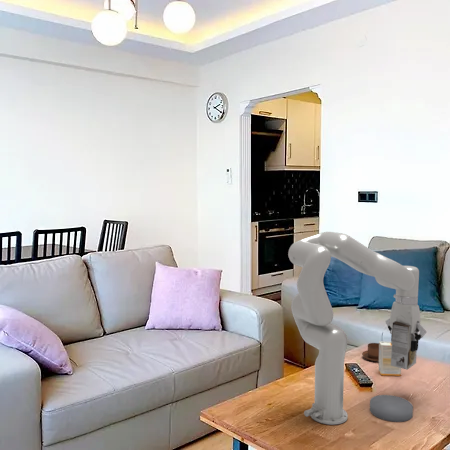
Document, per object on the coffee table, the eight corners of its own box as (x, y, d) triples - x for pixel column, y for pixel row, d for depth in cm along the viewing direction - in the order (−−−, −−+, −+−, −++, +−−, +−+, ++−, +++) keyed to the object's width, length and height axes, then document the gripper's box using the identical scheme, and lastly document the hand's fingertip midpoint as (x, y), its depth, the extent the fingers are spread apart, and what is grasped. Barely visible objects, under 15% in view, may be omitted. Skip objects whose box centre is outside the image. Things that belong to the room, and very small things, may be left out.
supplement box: (398, 371, 205) (399, 341, 203) (401, 376, 200) (402, 345, 199) (377, 371, 205) (378, 340, 204) (380, 375, 201) (381, 344, 200)
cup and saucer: (371, 352, 229) (372, 339, 228) (395, 359, 219) (395, 346, 219) (356, 358, 221) (356, 345, 220) (380, 365, 212) (380, 352, 211)
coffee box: (399, 359, 185) (401, 317, 184) (416, 363, 181) (418, 320, 180) (389, 365, 178) (391, 322, 177) (407, 370, 174) (409, 325, 173)
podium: (395, 426, 159) (395, 417, 159) (361, 409, 171) (361, 401, 170) (421, 414, 167) (421, 406, 167) (387, 399, 179) (387, 391, 178)
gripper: (380, 296, 183) (378, 342, 184) (421, 306, 168) (419, 356, 170) (392, 294, 187) (390, 339, 188) (434, 303, 173) (431, 352, 174)
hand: (404, 347), depth 179 cm, fingers closed on coffee box, 7 cm apart
